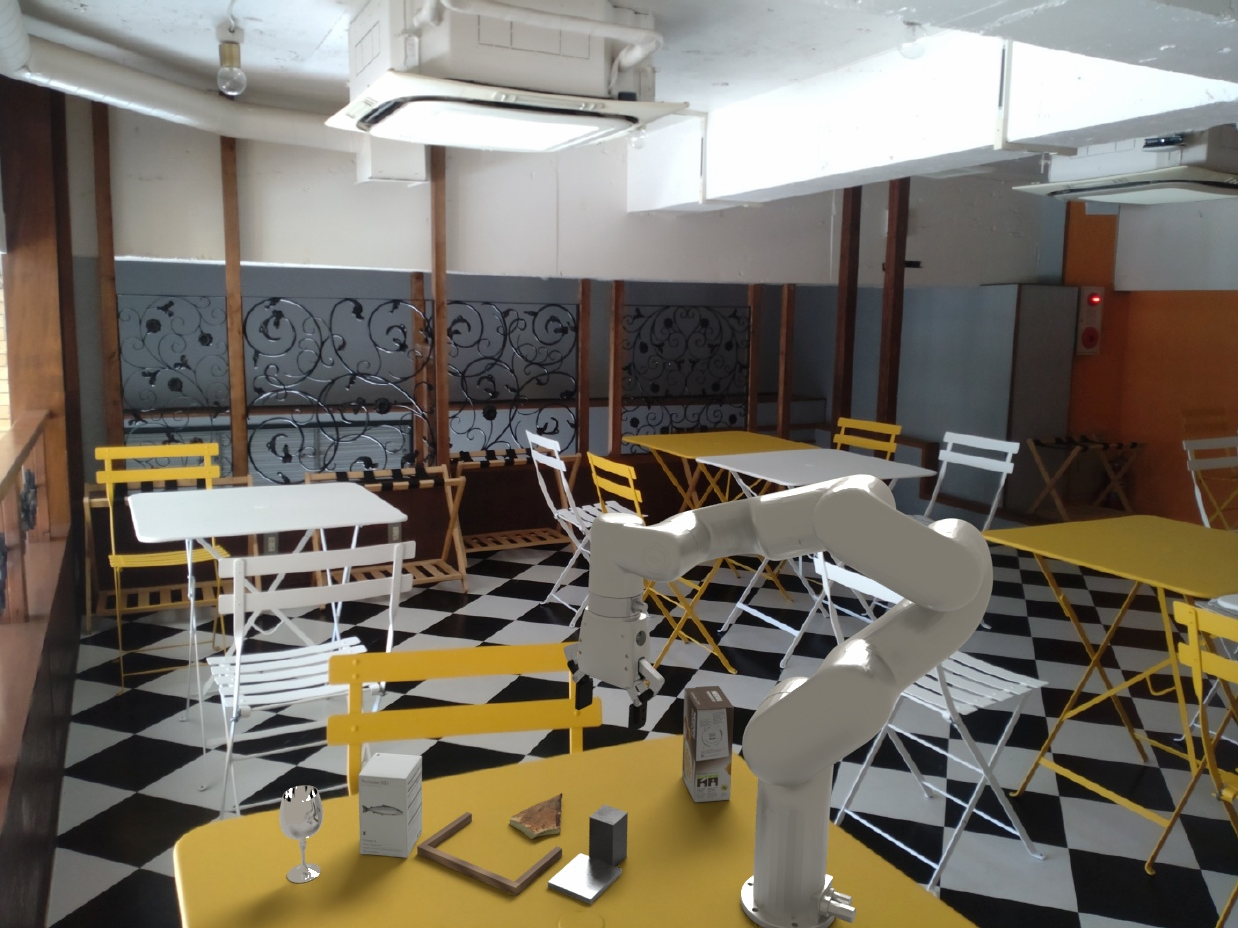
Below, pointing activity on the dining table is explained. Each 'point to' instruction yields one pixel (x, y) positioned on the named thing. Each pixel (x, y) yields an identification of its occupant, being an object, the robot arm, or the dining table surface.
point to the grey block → (596, 857)
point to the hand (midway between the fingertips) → (609, 717)
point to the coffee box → (707, 743)
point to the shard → (540, 818)
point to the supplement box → (390, 804)
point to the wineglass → (301, 826)
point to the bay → (478, 872)
